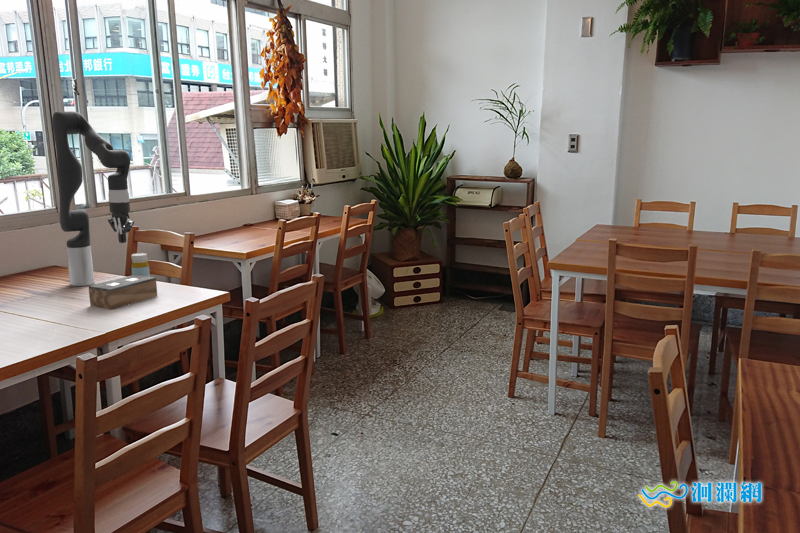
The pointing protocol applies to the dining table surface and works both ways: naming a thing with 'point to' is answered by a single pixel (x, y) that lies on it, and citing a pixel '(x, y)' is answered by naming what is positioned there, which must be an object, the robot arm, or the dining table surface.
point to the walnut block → (122, 291)
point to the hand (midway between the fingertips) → (122, 242)
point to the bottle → (140, 264)
